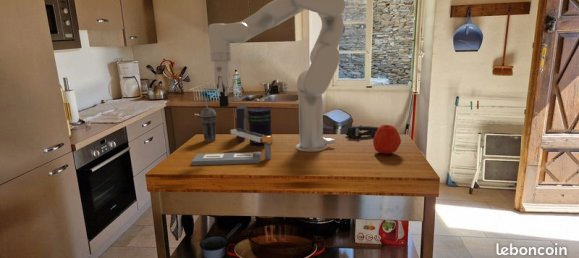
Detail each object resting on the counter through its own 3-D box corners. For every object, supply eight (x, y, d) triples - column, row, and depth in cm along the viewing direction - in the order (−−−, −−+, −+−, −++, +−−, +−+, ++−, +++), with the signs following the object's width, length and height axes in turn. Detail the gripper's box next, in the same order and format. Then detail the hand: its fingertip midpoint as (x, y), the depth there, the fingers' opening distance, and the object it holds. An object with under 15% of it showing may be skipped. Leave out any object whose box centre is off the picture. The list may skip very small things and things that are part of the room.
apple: (406, 152, 147) (406, 125, 145) (382, 156, 143) (383, 128, 141) (389, 147, 156) (390, 121, 154) (367, 150, 152) (367, 123, 150)
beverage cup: (220, 140, 178) (217, 96, 174) (215, 143, 171) (212, 98, 167) (204, 140, 178) (201, 96, 174) (199, 144, 171) (196, 98, 167)
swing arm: (274, 142, 143) (274, 136, 142) (265, 144, 140) (265, 138, 140) (239, 132, 163) (239, 126, 163) (230, 133, 161) (230, 128, 160)
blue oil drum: (271, 146, 163) (270, 111, 160) (248, 147, 163) (246, 111, 160) (273, 141, 173) (271, 107, 170) (250, 141, 173) (249, 108, 170)
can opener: (348, 140, 171) (348, 127, 170) (344, 136, 178) (344, 124, 177) (387, 137, 173) (388, 125, 172) (382, 134, 180) (382, 122, 179)
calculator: (239, 136, 183) (237, 105, 180) (248, 136, 183) (246, 104, 180) (236, 142, 172) (234, 108, 169) (245, 142, 172) (244, 108, 169)
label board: (271, 155, 149) (271, 139, 148) (271, 162, 139) (270, 146, 138) (197, 157, 149) (196, 142, 148) (191, 165, 139) (190, 149, 138)
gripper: (228, 57, 139) (231, 108, 143) (233, 57, 154) (236, 103, 157) (206, 58, 139) (210, 109, 143) (214, 57, 154) (217, 104, 157)
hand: (224, 106), depth 150 cm, fingers closed
